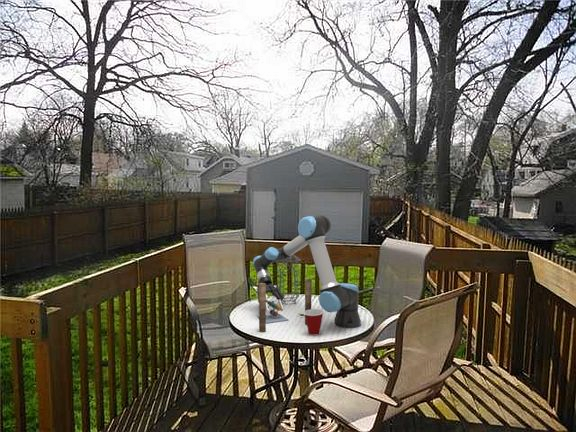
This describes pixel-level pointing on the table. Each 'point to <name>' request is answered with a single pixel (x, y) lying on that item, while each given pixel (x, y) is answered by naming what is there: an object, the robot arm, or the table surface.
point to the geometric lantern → (294, 277)
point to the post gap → (263, 302)
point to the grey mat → (275, 318)
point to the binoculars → (273, 309)
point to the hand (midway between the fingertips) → (275, 311)
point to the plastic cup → (314, 320)
